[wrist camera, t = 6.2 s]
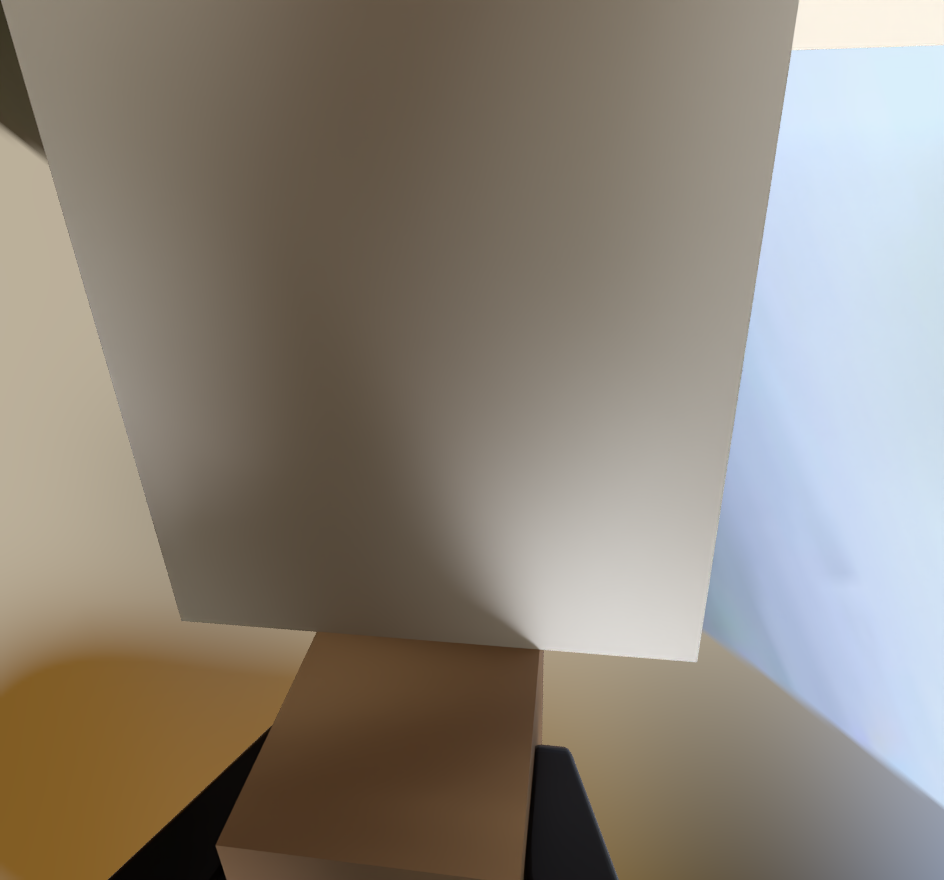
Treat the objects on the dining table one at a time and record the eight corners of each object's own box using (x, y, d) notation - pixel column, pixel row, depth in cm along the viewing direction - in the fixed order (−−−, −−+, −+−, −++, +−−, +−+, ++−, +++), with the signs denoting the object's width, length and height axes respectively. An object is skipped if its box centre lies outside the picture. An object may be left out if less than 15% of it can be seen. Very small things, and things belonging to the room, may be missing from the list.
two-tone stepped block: (786, -128, 5) (1064, -386, 2) (636, 960, 12) (652, 1268, 9) (58, -76, 6) (-484, -211, 3) (304, 914, 13) (216, 1181, 10)
